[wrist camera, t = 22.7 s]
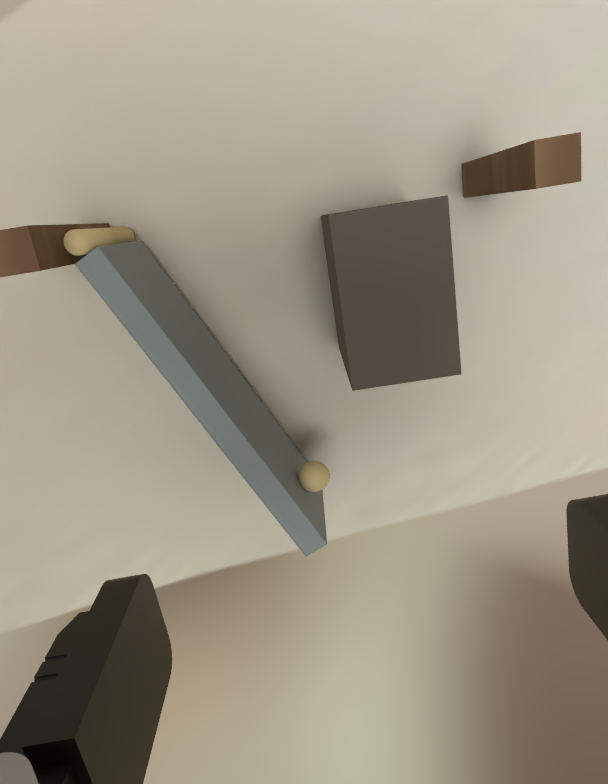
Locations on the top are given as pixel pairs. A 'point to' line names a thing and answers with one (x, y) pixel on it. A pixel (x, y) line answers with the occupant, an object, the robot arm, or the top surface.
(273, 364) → the top surface
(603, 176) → the top surface
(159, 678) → the robot arm
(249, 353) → the top surface
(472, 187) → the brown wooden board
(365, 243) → the block
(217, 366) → the door
